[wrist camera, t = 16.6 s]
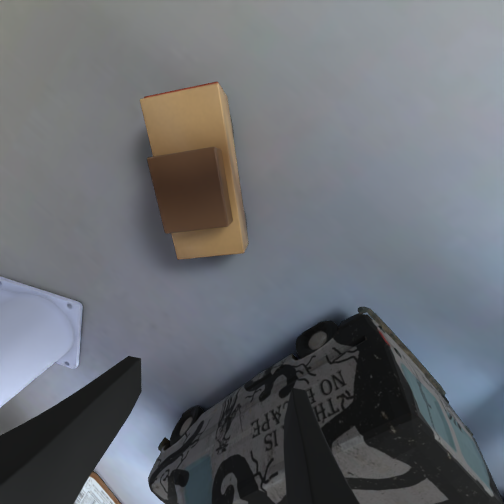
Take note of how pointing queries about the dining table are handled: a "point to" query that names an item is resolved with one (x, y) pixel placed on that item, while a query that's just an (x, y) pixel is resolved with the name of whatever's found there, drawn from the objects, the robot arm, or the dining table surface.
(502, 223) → the dining table surface
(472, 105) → the dining table surface
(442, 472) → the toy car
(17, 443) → the robot arm
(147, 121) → the wooden car
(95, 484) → the tin
